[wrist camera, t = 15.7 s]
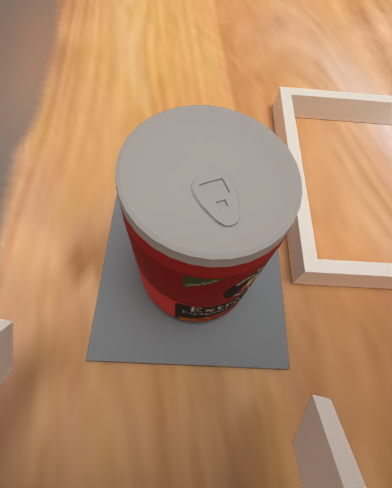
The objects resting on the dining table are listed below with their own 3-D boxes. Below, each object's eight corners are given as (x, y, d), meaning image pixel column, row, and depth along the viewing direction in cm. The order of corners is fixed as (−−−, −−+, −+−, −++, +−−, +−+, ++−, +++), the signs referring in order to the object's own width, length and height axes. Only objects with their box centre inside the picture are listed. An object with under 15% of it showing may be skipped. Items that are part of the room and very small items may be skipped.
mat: (271, 205, 25) (273, 201, 25) (287, 369, 20) (289, 369, 19) (118, 195, 25) (117, 191, 24) (87, 360, 19) (85, 360, 19)
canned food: (183, 348, 19) (192, 303, 10) (120, 257, 22) (75, 146, 12) (268, 283, 22) (346, 193, 12) (202, 207, 24) (221, 82, 14)
